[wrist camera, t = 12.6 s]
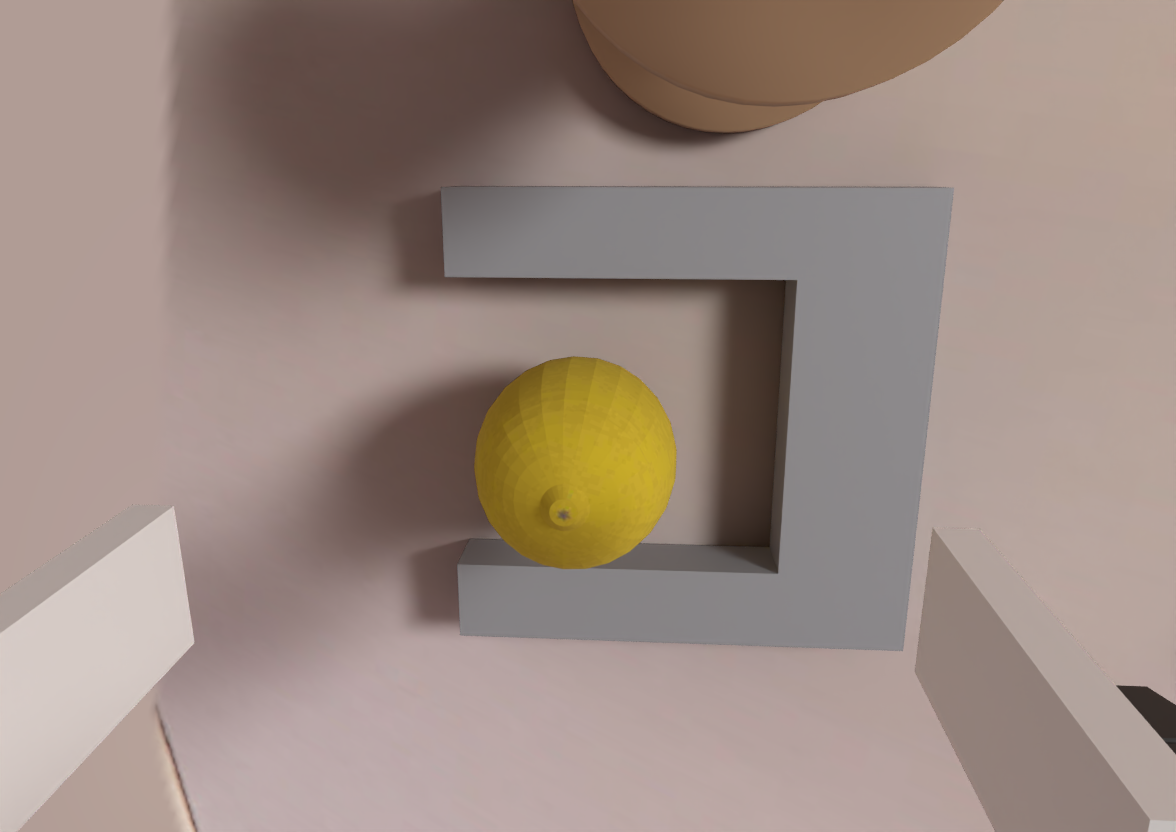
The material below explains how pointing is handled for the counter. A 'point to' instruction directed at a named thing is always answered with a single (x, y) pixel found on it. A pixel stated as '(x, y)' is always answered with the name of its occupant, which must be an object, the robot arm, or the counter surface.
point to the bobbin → (763, 52)
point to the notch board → (805, 408)
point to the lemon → (575, 462)
